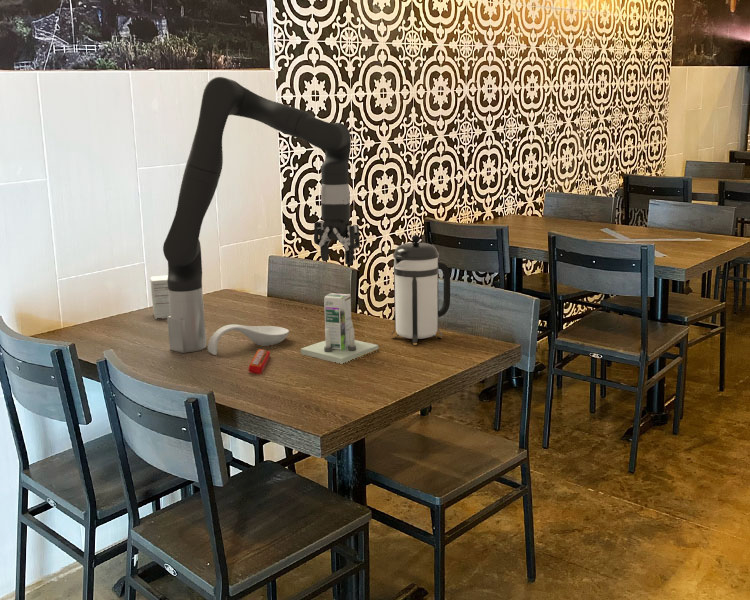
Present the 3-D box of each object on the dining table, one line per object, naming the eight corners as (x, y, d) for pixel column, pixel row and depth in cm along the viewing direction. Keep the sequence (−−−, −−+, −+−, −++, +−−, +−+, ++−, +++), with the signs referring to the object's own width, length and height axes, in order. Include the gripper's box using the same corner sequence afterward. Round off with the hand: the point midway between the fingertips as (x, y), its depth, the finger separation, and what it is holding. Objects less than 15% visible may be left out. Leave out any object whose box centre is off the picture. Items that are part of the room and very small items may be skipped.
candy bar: (261, 376, 207) (261, 365, 206) (247, 376, 207) (246, 365, 207) (271, 357, 223) (271, 346, 222) (258, 357, 223) (257, 346, 222)
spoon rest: (276, 335, 244) (275, 311, 242) (297, 343, 234) (296, 319, 233) (202, 350, 230) (200, 325, 229) (220, 360, 221) (219, 334, 219)
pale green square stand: (341, 364, 215) (340, 336, 213) (300, 354, 224) (299, 327, 222) (378, 350, 226) (378, 323, 224) (338, 341, 235) (337, 315, 233)
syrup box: (324, 349, 223) (323, 296, 219) (333, 343, 228) (331, 292, 225) (344, 350, 221) (342, 298, 217) (352, 344, 226) (351, 293, 223)
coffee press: (443, 347, 227) (443, 239, 220) (386, 345, 230) (384, 239, 223) (450, 330, 244) (450, 229, 237) (397, 328, 247) (395, 229, 240)
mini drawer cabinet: (153, 314, 270) (149, 276, 267) (176, 311, 272) (173, 274, 269) (154, 319, 263) (150, 280, 260) (177, 317, 265) (174, 278, 262)
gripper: (305, 200, 217) (308, 261, 221) (346, 204, 208) (347, 267, 212) (325, 198, 222) (327, 257, 226) (365, 201, 213) (366, 263, 217)
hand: (337, 262), depth 219 cm, fingers open, 8 cm apart
